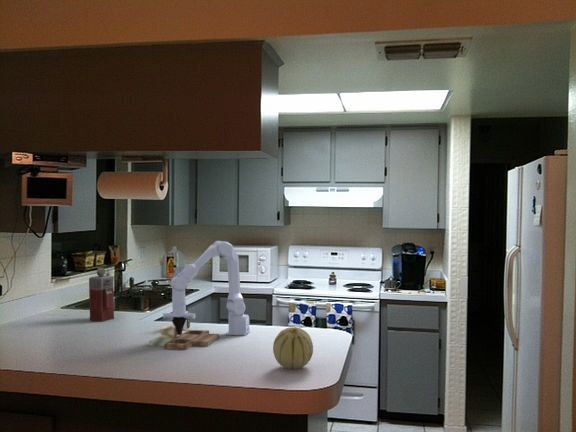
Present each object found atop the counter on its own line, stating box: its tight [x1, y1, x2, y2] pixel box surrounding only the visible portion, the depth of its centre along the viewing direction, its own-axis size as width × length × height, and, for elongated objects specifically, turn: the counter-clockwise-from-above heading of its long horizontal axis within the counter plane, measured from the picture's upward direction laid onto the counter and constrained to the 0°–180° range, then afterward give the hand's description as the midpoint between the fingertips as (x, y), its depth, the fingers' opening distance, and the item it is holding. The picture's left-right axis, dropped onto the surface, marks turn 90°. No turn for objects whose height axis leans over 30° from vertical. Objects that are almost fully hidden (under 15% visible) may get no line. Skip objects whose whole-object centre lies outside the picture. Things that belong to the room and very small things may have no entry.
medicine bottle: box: [172, 304, 191, 331], centre depth 254 cm, size 7×7×12 cm
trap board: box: [148, 329, 220, 350], centre depth 229 cm, size 26×26×2 cm
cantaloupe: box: [272, 326, 314, 370], centre depth 187 cm, size 15×15×15 cm
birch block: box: [160, 325, 178, 338], centre depth 231 cm, size 6×6×4 cm
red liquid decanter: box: [88, 267, 115, 323], centre depth 281 cm, size 9×11×28 cm
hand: (179, 334), depth 230 cm, fingers closed
